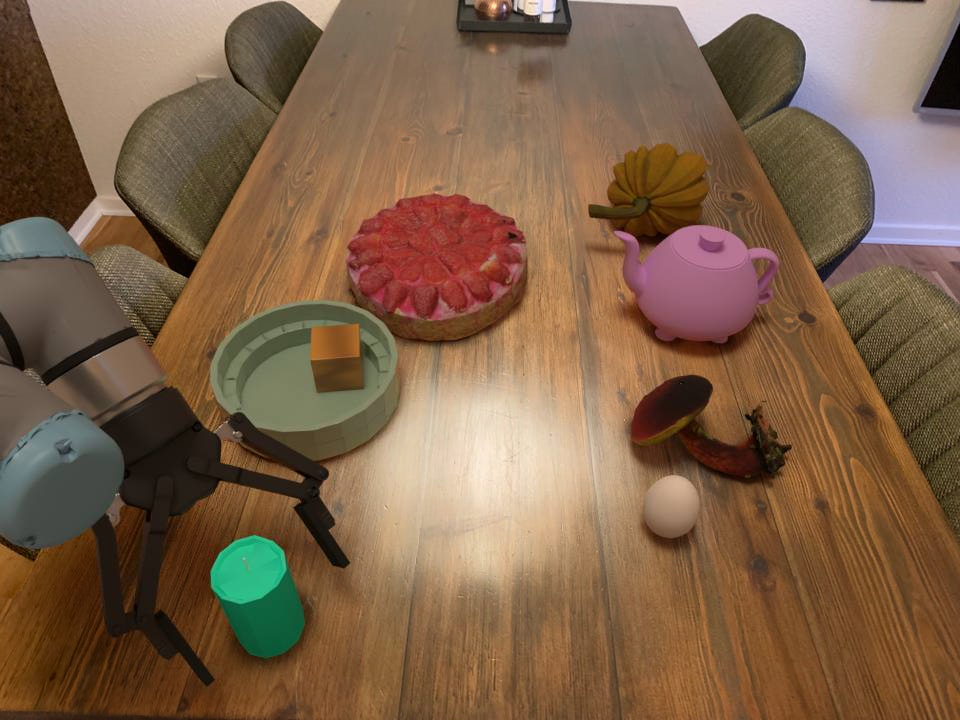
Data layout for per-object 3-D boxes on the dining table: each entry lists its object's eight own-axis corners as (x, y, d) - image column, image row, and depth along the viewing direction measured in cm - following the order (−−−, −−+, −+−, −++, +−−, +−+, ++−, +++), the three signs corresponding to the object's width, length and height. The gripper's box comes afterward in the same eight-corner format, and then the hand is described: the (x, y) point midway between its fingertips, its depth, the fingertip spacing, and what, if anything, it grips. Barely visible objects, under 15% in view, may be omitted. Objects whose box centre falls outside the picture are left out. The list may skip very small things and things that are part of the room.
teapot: (602, 354, 90) (621, 268, 80) (593, 277, 101) (608, 193, 91) (776, 361, 90) (815, 276, 80) (747, 284, 101) (779, 200, 91)
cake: (491, 209, 110) (491, 165, 104) (557, 317, 95) (561, 273, 89) (334, 247, 105) (324, 202, 99) (376, 368, 89) (367, 324, 83)
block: (316, 393, 83) (309, 360, 79) (317, 359, 87) (311, 326, 83) (364, 389, 84) (359, 356, 80) (363, 356, 88) (359, 323, 84)
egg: (650, 495, 75) (666, 451, 70) (697, 521, 73) (717, 478, 68) (627, 531, 72) (641, 488, 67) (676, 560, 70) (695, 517, 65)
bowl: (253, 495, 74) (241, 461, 70) (202, 369, 86) (189, 333, 82) (430, 422, 81) (429, 387, 77) (359, 316, 94) (354, 280, 90)
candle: (276, 670, 62) (248, 608, 53) (223, 638, 63) (187, 573, 55) (318, 612, 65) (298, 544, 57) (267, 583, 67) (239, 514, 59)
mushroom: (713, 482, 86) (636, 385, 86) (805, 440, 79) (721, 334, 78) (686, 542, 77) (600, 434, 77) (788, 501, 69) (692, 381, 69)
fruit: (703, 221, 115) (700, 260, 98) (604, 214, 119) (584, 250, 102) (715, 133, 109) (714, 157, 92) (610, 129, 113) (590, 152, 96)
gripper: (249, 336, 65) (372, 522, 69) (-38, 505, 52) (133, 723, 56) (274, 320, 59) (407, 525, 63) (-45, 507, 46) (148, 752, 50)
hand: (278, 619), depth 59 cm, fingers open, 13 cm apart
